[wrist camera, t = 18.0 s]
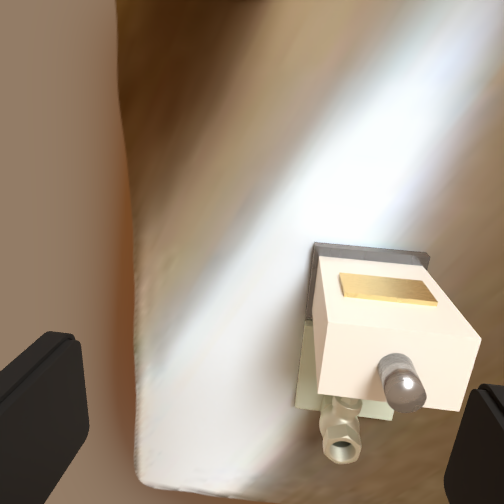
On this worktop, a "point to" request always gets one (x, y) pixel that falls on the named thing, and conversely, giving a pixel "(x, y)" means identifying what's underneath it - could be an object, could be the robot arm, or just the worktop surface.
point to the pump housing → (387, 329)
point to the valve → (340, 428)
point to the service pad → (308, 383)
